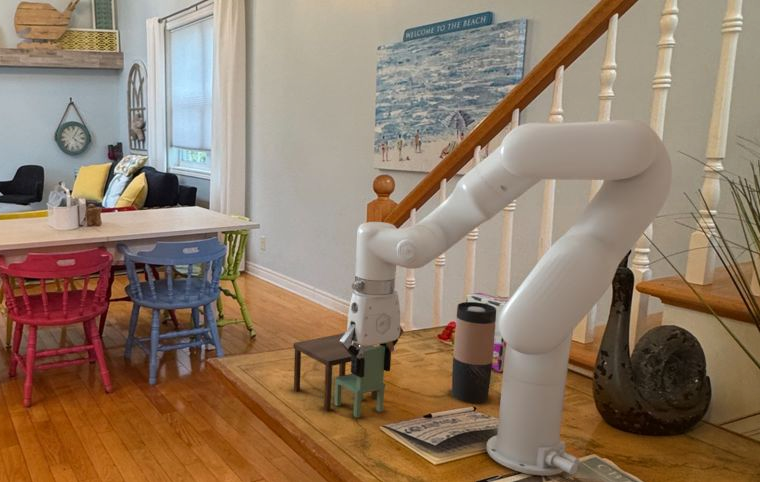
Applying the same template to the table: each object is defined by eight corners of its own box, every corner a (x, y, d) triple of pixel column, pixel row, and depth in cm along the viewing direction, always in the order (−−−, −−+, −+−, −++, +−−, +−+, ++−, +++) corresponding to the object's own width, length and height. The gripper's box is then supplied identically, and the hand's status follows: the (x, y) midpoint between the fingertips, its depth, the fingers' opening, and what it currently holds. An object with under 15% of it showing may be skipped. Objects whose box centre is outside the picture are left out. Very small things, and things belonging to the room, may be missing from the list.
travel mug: (490, 393, 138) (498, 304, 134) (487, 406, 132) (495, 314, 128) (453, 385, 142) (459, 300, 138) (447, 399, 135) (454, 309, 132)
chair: (384, 411, 130) (387, 346, 128) (356, 418, 127) (359, 352, 125) (360, 397, 137) (362, 335, 134) (333, 404, 134) (335, 341, 131)
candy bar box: (514, 369, 151) (520, 303, 147) (499, 373, 148) (505, 305, 145) (475, 354, 161) (480, 291, 157) (460, 357, 158) (465, 294, 155)
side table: (379, 398, 136) (381, 349, 134) (326, 411, 130) (328, 361, 128) (342, 378, 147) (344, 332, 145) (292, 389, 141) (293, 342, 139)
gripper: (352, 296, 117) (349, 387, 121) (422, 284, 124) (416, 370, 128) (327, 286, 124) (324, 373, 127) (394, 276, 131) (389, 358, 135)
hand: (370, 371), depth 128 cm, fingers closed on chair, 6 cm apart
